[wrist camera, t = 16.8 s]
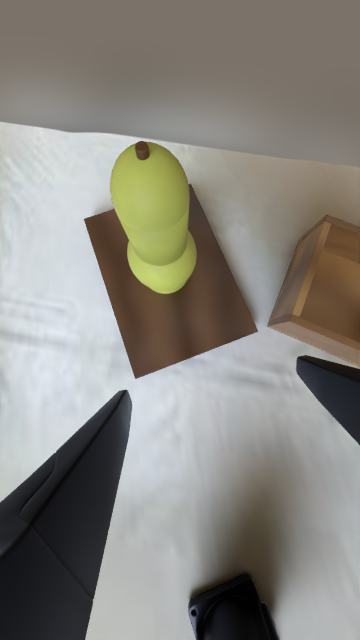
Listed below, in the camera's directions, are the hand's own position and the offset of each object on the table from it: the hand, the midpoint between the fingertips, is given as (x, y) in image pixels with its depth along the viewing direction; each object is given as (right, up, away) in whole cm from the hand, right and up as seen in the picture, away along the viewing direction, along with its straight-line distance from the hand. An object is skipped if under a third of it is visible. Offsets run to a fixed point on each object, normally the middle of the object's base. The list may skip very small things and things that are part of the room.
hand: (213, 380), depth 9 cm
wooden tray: (+17, +6, +12) cm, 21 cm away
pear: (-3, +9, +10) cm, 14 cm away
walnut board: (-3, +8, +12) cm, 15 cm away
